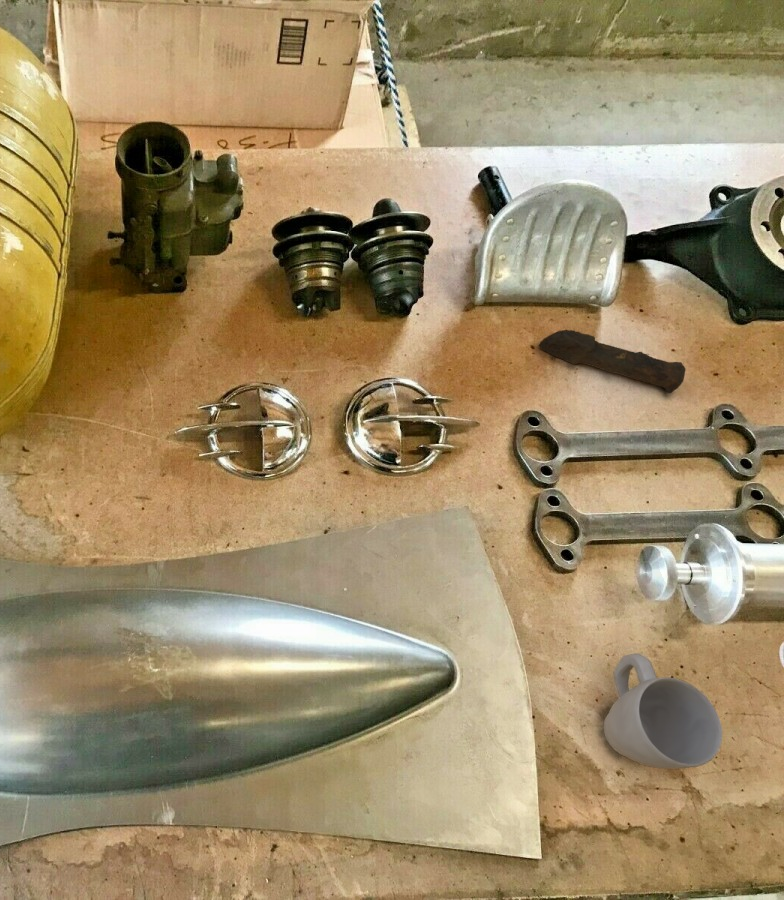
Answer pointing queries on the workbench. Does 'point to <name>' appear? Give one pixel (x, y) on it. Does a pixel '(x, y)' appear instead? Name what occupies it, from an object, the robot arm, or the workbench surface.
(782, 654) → the chess piece
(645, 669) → the mug
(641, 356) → the hand tool
